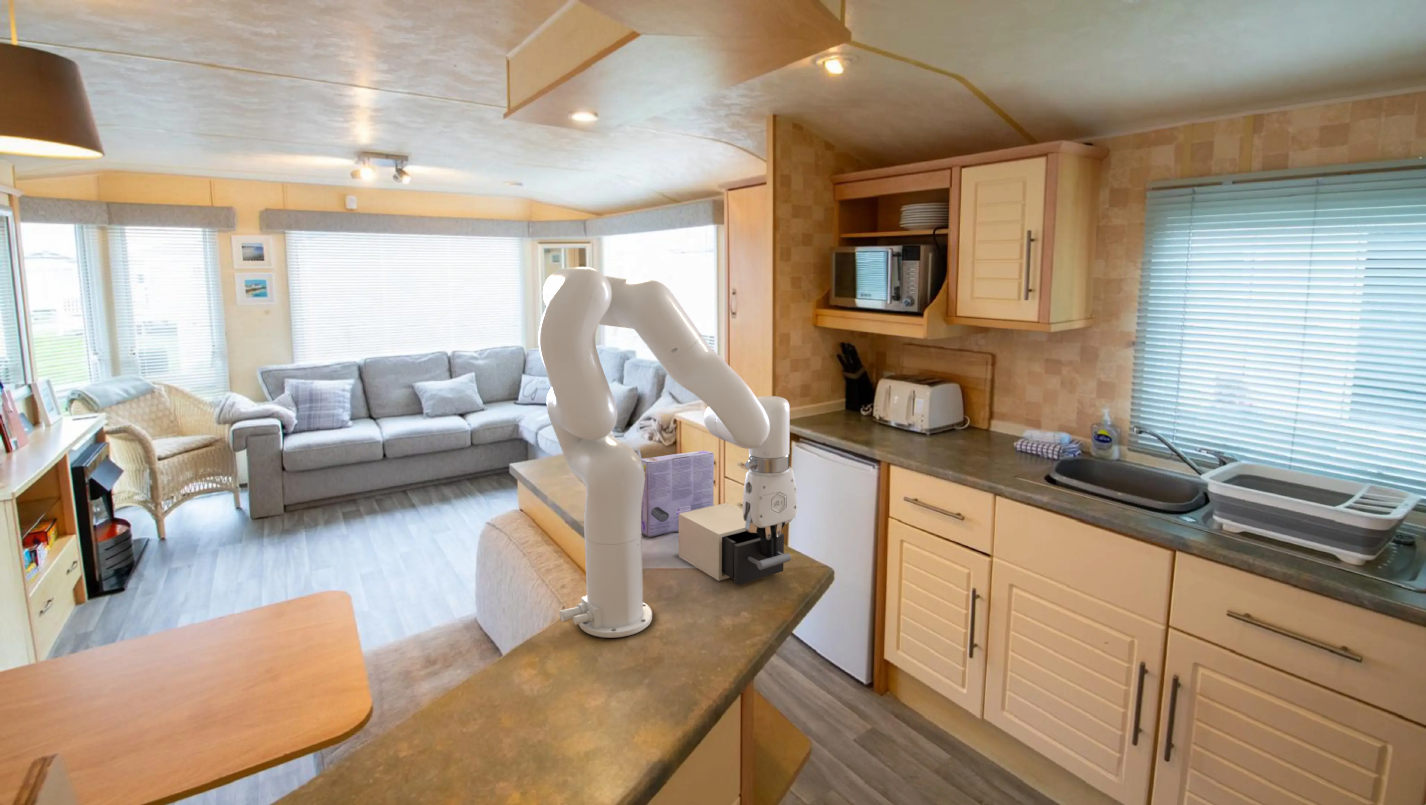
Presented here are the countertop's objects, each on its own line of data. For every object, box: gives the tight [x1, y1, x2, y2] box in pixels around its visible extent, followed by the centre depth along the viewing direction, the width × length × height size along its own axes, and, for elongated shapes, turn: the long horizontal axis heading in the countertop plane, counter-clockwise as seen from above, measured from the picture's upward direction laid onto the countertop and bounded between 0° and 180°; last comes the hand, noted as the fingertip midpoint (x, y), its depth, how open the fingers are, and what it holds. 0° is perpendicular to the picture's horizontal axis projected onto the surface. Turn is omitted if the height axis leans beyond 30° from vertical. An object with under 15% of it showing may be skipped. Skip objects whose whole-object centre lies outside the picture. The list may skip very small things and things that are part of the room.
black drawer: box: [722, 531, 792, 586], centre depth 137 cm, size 18×11×8 cm, turn 35°
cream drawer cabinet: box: [678, 502, 746, 582], centre depth 144 cm, size 15×13×10 cm
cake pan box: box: [641, 450, 715, 538], centre depth 163 cm, size 19×5×18 cm, turn 123°
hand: (769, 555), depth 133 cm, fingers closed
